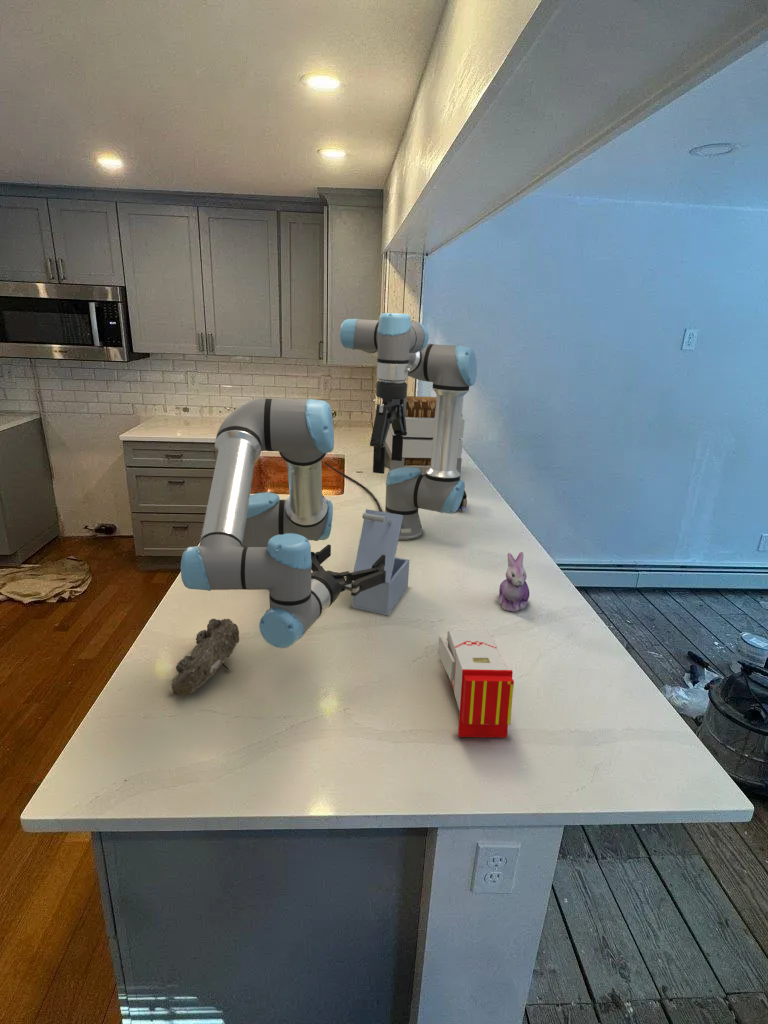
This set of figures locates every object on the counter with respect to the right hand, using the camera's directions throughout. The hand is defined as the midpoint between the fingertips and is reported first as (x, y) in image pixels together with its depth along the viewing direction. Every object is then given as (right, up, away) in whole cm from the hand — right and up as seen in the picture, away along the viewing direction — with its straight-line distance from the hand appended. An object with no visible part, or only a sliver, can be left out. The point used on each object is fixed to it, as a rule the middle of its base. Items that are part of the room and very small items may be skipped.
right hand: (387, 466), depth 143 cm
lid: (-2, -20, +3) cm, 21 cm away
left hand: (-7, -21, -12) cm, 26 cm away
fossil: (-38, -45, -21) cm, 63 cm away
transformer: (+16, +7, +131) cm, 133 cm away
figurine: (+34, -37, +11) cm, 52 cm away
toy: (+17, -49, -25) cm, 58 cm away
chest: (-2, -35, +12) cm, 37 cm away
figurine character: (+28, -10, +86) cm, 91 cm away
